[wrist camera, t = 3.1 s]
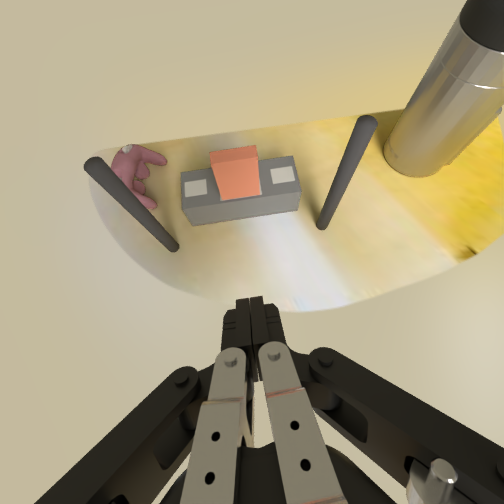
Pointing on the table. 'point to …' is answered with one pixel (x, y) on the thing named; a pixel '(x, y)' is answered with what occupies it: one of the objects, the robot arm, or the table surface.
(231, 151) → the block
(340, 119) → the table surface
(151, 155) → the video game controller
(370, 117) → the cord posts
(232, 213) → the breaker block
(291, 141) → the table surface
